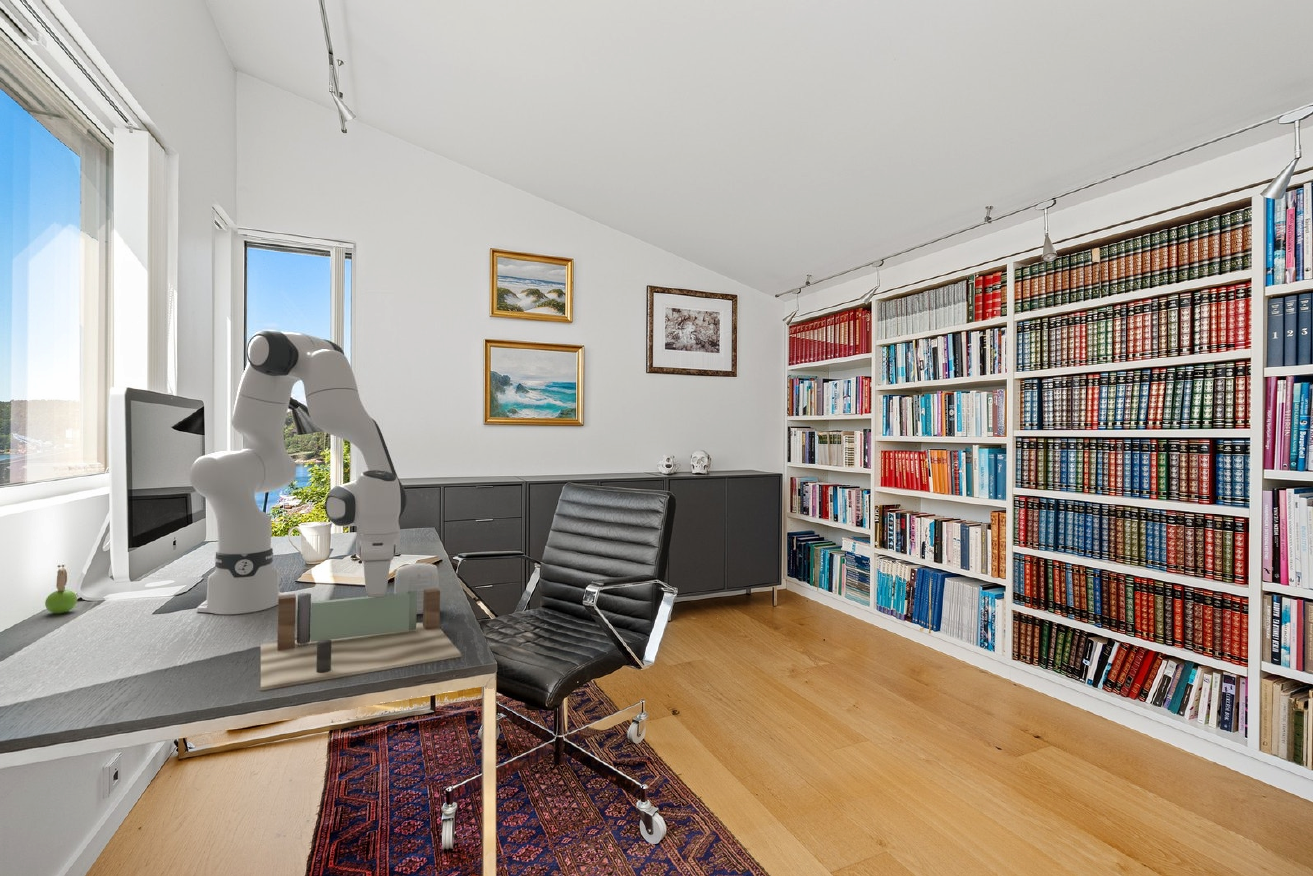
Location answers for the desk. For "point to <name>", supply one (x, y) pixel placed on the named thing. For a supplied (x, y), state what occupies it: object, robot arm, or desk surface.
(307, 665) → the gate frame
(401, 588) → the photo printer
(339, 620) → the gate
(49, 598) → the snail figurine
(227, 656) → the desk surface
